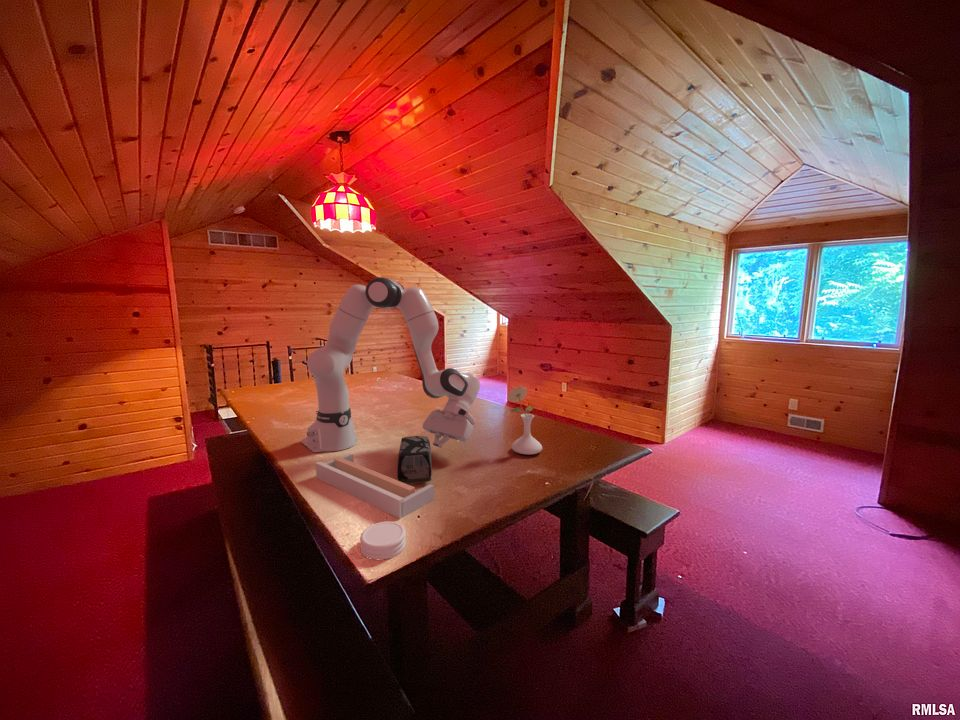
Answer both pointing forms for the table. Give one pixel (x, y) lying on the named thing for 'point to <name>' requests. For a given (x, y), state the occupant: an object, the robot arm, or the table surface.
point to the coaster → (383, 540)
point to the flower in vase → (526, 441)
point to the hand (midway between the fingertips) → (436, 446)
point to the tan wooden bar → (374, 477)
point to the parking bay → (373, 490)
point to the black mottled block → (414, 459)
